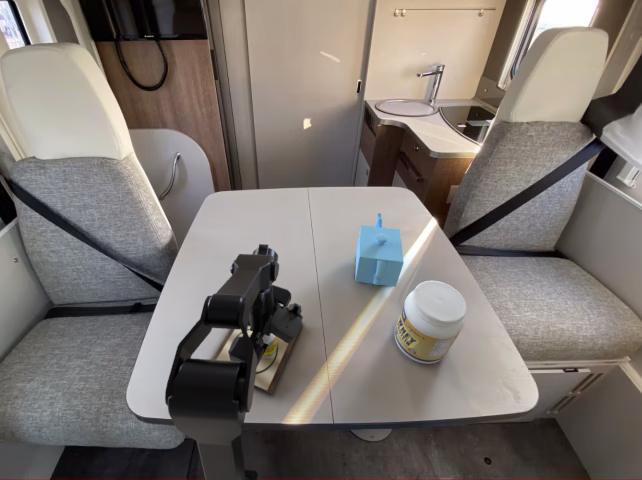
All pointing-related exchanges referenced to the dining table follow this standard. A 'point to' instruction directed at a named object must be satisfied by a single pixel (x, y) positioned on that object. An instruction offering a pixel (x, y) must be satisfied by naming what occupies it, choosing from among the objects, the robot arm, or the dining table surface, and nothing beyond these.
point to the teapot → (378, 255)
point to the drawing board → (267, 367)
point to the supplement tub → (430, 321)
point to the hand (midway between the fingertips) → (265, 342)
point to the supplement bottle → (270, 345)
